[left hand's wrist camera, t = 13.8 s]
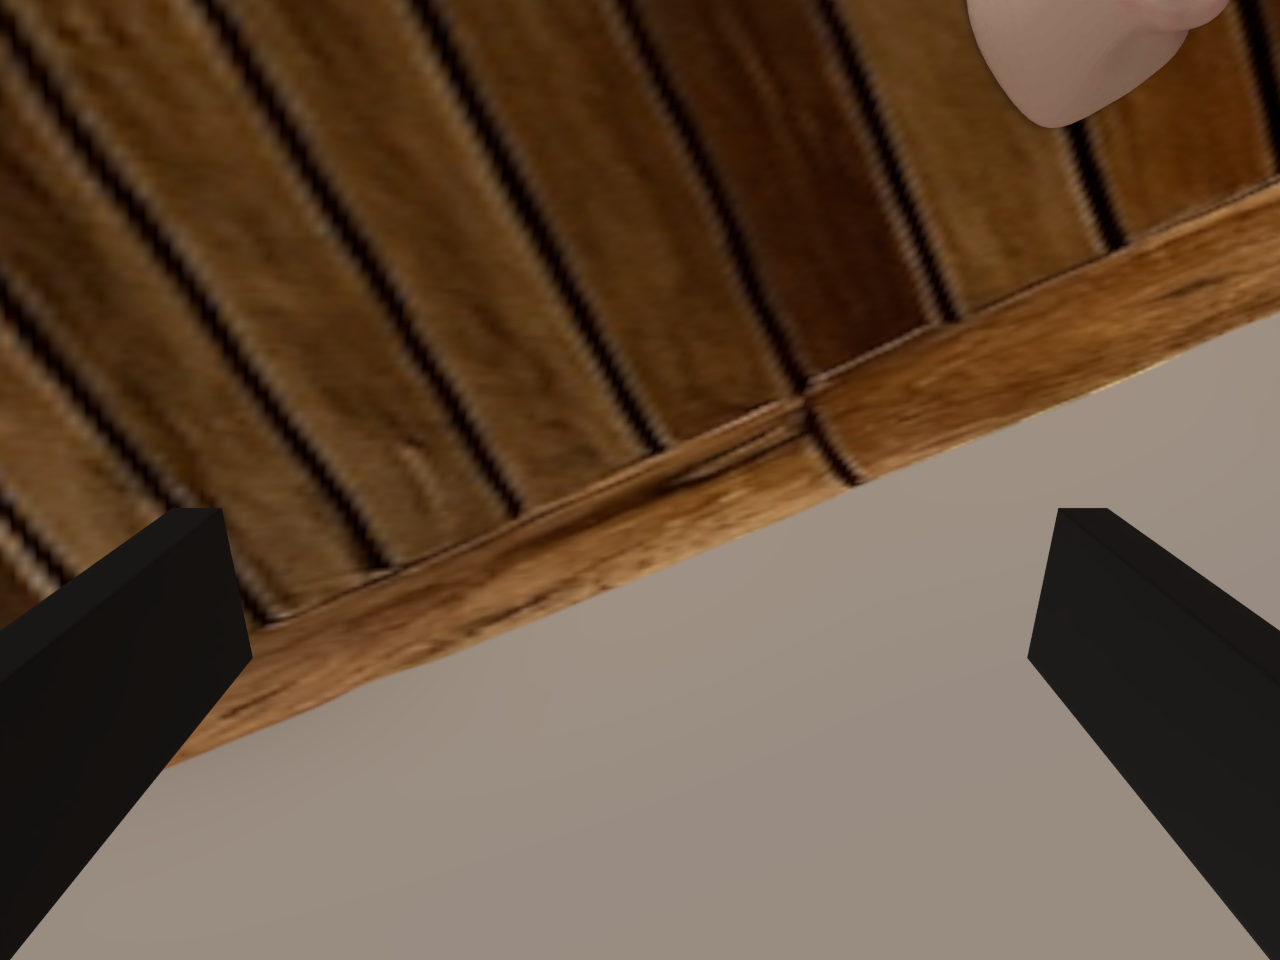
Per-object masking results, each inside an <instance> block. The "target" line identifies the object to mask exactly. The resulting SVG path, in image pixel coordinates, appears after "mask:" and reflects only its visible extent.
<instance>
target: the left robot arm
mask: <svg viewBox="0 0 1280 960" xmlns="http://www.w3.org/2000/svg"><path fill="white" fill-rule="evenodd" d="M252 658H253V657H252V652H251V647H250V643H249V638H248V633H247V628H246V623H245V618H244V614H243V609H242V604H241V599H240V594H239V589H238V585H237V580H236V575H235V570H234V565H233V561H232V556H231V551H230V546H229V541H228V536H227V532H226V527H225V522H224V517H223V512H222V508H172V509H171V510H169V511H168V512H167V513H165V514H164V515H162V516H161V517H160V518H158V519H157V520H155V521H154V522H153V523H151V524H150V525H148V526H147V527H146V528H144V529H143V530H141V531H140V532H139V533H137V534H136V535H134V536H133V537H131V538H130V539H129V540H127V541H126V542H124V543H123V544H122V545H120V546H119V547H117V548H116V549H115V550H113V551H112V552H110V553H109V554H108V555H106V556H105V557H103V558H102V559H101V560H99V561H98V562H96V563H95V564H94V565H92V566H91V567H89V568H88V569H86V570H85V571H84V572H82V573H81V574H79V575H78V576H77V577H75V578H74V579H72V580H71V581H70V582H68V583H67V584H65V585H64V586H63V587H61V588H60V589H58V590H57V591H56V592H54V593H53V594H51V595H50V596H48V597H47V598H46V599H44V600H43V601H41V602H40V603H39V604H37V605H36V606H34V607H33V608H32V609H30V610H29V611H27V612H26V613H25V614H23V615H22V616H20V617H19V618H18V619H16V620H15V621H13V622H12V623H11V624H9V625H8V626H6V627H5V628H3V629H2V630H1V631H0V960H10V959H11V958H12V957H13V955H14V954H15V953H16V952H17V950H18V949H19V948H20V947H21V945H22V944H23V943H24V942H25V940H26V939H27V938H28V937H29V935H30V934H31V933H32V932H33V931H34V929H35V928H36V927H37V926H38V924H39V923H40V922H41V921H42V919H43V918H44V917H45V916H46V914H47V913H48V912H49V911H50V909H51V908H52V907H53V906H54V904H55V903H56V902H57V901H58V899H59V898H60V897H61V896H62V894H63V893H64V892H65V891H66V889H67V888H68V887H69V886H70V885H71V883H72V882H73V881H74V880H75V878H76V877H77V876H78V875H79V873H80V872H81V871H82V870H83V868H84V867H85V866H86V865H87V863H88V862H89V861H90V860H91V858H92V857H93V856H94V855H95V853H96V852H97V851H98V850H99V848H100V847H101V846H102V845H103V843H104V842H105V841H106V840H107V838H108V837H109V836H110V835H111V833H112V832H113V831H114V830H115V828H116V827H117V826H118V825H119V824H120V822H121V821H122V820H123V819H124V817H125V816H126V815H127V814H128V812H129V811H130V810H131V809H132V807H133V806H134V805H135V804H136V802H137V801H138V800H139V799H140V797H141V796H142V795H143V794H144V792H145V791H146V790H147V789H148V787H149V786H150V785H151V784H152V783H153V781H154V780H155V779H156V777H157V776H158V775H159V774H160V773H161V771H162V770H163V769H164V768H165V766H166V765H167V764H168V763H169V761H170V760H171V759H172V758H173V756H174V755H175V754H176V753H177V751H178V750H179V749H180V748H181V746H182V745H183V744H184V743H185V741H186V740H187V739H188V738H189V736H190V735H191V734H192V733H193V732H194V730H195V729H196V728H197V727H198V725H199V724H200V723H201V722H202V720H203V719H204V718H205V717H206V715H207V714H208V713H209V712H210V710H211V709H212V708H213V707H214V705H215V704H216V703H217V702H218V700H219V699H220V698H221V697H222V695H223V694H224V693H225V692H226V690H227V689H228V688H229V687H230V685H231V684H232V683H233V682H234V680H235V679H236V678H237V677H238V676H239V674H240V673H241V672H242V671H243V669H244V668H245V667H246V666H247V664H248V663H249V662H250V661H251V659H252ZM1027 658H1028V659H1029V661H1030V662H1031V663H1032V664H1033V666H1034V667H1035V668H1036V669H1037V670H1038V672H1039V673H1040V674H1041V675H1042V677H1043V678H1044V679H1045V680H1046V682H1047V683H1048V684H1049V685H1050V687H1051V688H1052V689H1053V690H1054V692H1055V693H1056V694H1057V695H1058V697H1059V698H1060V699H1061V700H1062V702H1063V703H1064V704H1065V705H1066V707H1067V708H1068V709H1069V710H1070V712H1071V713H1072V714H1073V715H1074V717H1075V718H1076V719H1077V720H1078V722H1079V723H1080V724H1081V725H1082V727H1083V728H1084V729H1085V730H1086V731H1087V733H1088V734H1089V735H1090V736H1091V738H1092V739H1093V740H1094V741H1095V743H1096V744H1097V745H1098V746H1099V748H1100V749H1101V750H1102V751H1103V753H1104V754H1105V755H1106V756H1107V758H1108V759H1109V760H1110V761H1111V763H1112V764H1113V765H1114V766H1115V768H1116V769H1117V770H1118V771H1119V773H1120V774H1121V775H1122V776H1123V778H1124V779H1125V780H1126V781H1127V783H1128V784H1129V785H1130V786H1131V787H1132V789H1133V790H1134V791H1135V792H1136V794H1137V795H1138V796H1139V797H1140V799H1141V800H1142V801H1143V802H1144V804H1145V805H1146V806H1147V807H1148V809H1149V810H1150V811H1151V812H1152V814H1153V815H1154V816H1155V817H1156V819H1157V820H1158V821H1159V822H1160V824H1161V825H1162V826H1163V827H1164V829H1165V830H1166V831H1167V832H1168V834H1169V835H1170V836H1171V837H1172V838H1173V840H1174V841H1175V842H1176V843H1177V845H1178V846H1179V847H1180V848H1181V850H1182V851H1183V852H1184V853H1185V855H1186V856H1187V857H1188V858H1189V860H1190V861H1191V862H1192V863H1193V865H1194V866H1195V867H1196V868H1197V870H1198V871H1199V872H1200V873H1201V875H1202V876H1203V877H1204V878H1205V880H1206V881H1207V882H1208V883H1209V884H1210V886H1211V887H1212V888H1213V889H1214V891H1215V892H1216V893H1217V894H1218V896H1219V897H1220V898H1221V899H1222V901H1223V902H1224V903H1225V904H1226V906H1227V907H1228V908H1229V909H1230V911H1231V912H1232V913H1233V914H1234V916H1235V917H1236V918H1237V919H1238V921H1239V922H1240V923H1241V924H1242V925H1243V927H1244V928H1245V929H1246V931H1247V932H1248V933H1249V934H1250V936H1251V937H1252V938H1253V939H1254V941H1255V942H1256V943H1257V944H1258V945H1259V947H1260V948H1261V949H1262V950H1263V952H1264V953H1265V954H1266V955H1267V957H1268V958H1269V959H1270V960H1280V631H1279V630H1278V629H1276V628H1275V627H1274V626H1272V625H1271V624H1269V623H1268V622H1267V621H1265V620H1264V619H1262V618H1261V617H1260V616H1258V615H1257V614H1255V613H1254V612H1253V611H1251V610H1250V609H1248V608H1247V607H1246V606H1244V605H1243V604H1241V603H1240V602H1238V601H1237V600H1236V599H1234V598H1233V597H1232V596H1230V595H1229V594H1227V593H1226V592H1224V591H1223V590H1222V589H1220V588H1219V587H1217V586H1216V585H1215V584H1213V583H1212V582H1210V581H1209V580H1208V579H1206V578H1205V577H1203V576H1202V575H1201V574H1199V573H1198V572H1196V571H1195V570H1193V569H1192V568H1191V567H1189V566H1188V565H1186V564H1185V563H1184V562H1182V561H1181V560H1179V559H1178V558H1177V557H1175V556H1174V555H1172V554H1171V553H1170V552H1168V551H1167V550H1165V549H1164V548H1163V547H1161V546H1160V545H1158V544H1157V543H1156V542H1154V541H1153V540H1151V539H1150V538H1148V537H1147V536H1146V535H1144V534H1143V533H1141V532H1140V531H1139V530H1137V529H1136V528H1134V527H1133V526H1132V525H1130V524H1129V523H1127V522H1126V521H1125V520H1123V519H1122V518H1120V517H1119V516H1118V515H1116V514H1115V513H1113V512H1112V511H1111V510H1109V509H1108V508H1058V513H1057V517H1056V522H1055V527H1054V532H1053V536H1052V541H1051V546H1050V551H1049V556H1048V561H1047V565H1046V570H1045V575H1044V580H1043V585H1042V589H1041V594H1040V599H1039V604H1038V609H1037V614H1036V618H1035V623H1034V628H1033V633H1032V638H1031V643H1030V647H1029V652H1028V657H1027Z"/></svg>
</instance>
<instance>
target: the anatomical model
mask: <svg viewBox="0 0 1280 960" xmlns="http://www.w3.org/2000/svg"><path fill="white" fill-rule="evenodd" d="M1228 2H1229V0H967V7H968V14H969V18H970V23H971V27H972V29H973V32H974V35H975V38H976V41H977V44H978V46H979V48H980V51H981V53H982V55H983V57H984V59H985V61H986V63H987V65H988V66H989V68H990V70H991V71H992V73H993V75H994V76H995V78H996V80H997V81H998V83H999V84H1000V86H1001V87H1002V88H1003V90H1004V91H1005V93H1006V94H1007V95H1008V97H1009V98H1010V100H1011V101H1012V102H1013V103H1014V104H1015V105H1016V107H1017V108H1018V109H1019V110H1020V111H1021V112H1022V113H1023V114H1024V115H1025V116H1026V117H1027V118H1028V119H1030V120H1031V121H1033V122H1034V123H1036V124H1037V125H1040V126H1043V127H1047V128H1057V127H1062V126H1066V125H1069V124H1072V123H1074V122H1076V121H1079V120H1081V119H1083V118H1085V117H1088V116H1089V115H1091V114H1093V113H1095V112H1096V111H1098V110H1100V109H1102V108H1103V107H1105V106H1107V105H1109V104H1110V103H1112V102H1114V101H1116V100H1117V99H1119V98H1121V97H1122V96H1124V95H1125V94H1127V93H1129V92H1130V91H1132V90H1133V89H1134V88H1136V87H1137V86H1138V85H1140V84H1141V83H1142V82H1144V81H1145V80H1146V79H1147V78H1149V77H1150V76H1151V75H1153V74H1154V73H1155V72H1156V71H1158V70H1159V69H1160V68H1161V67H1162V66H1163V65H1165V64H1166V63H1167V62H1168V61H1169V60H1170V59H1171V58H1172V57H1173V56H1174V55H1175V53H1176V52H1177V51H1178V49H1179V48H1180V47H1181V45H1182V43H1183V42H1184V40H1185V38H1186V36H1187V34H1188V32H1189V29H1192V28H1196V27H1199V26H1201V25H1204V24H1206V23H1208V22H1209V21H1211V20H1212V19H1214V18H1215V17H1216V16H1218V15H1219V14H1220V13H1221V12H1222V10H1223V9H1224V8H1225V7H1226V5H1227V3H1228Z"/></svg>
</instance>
